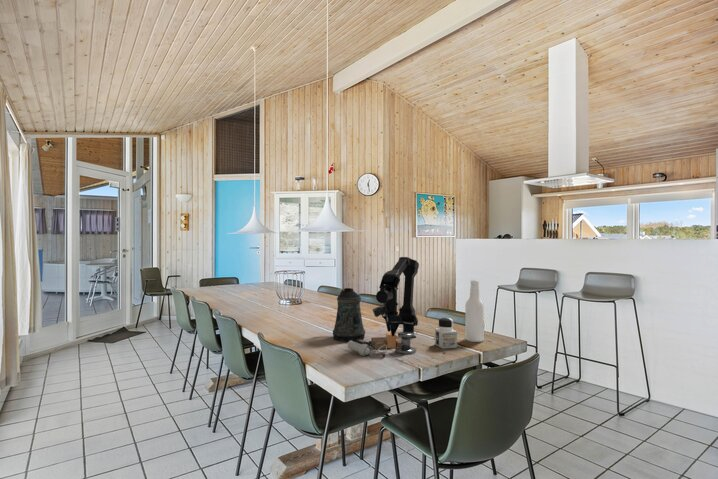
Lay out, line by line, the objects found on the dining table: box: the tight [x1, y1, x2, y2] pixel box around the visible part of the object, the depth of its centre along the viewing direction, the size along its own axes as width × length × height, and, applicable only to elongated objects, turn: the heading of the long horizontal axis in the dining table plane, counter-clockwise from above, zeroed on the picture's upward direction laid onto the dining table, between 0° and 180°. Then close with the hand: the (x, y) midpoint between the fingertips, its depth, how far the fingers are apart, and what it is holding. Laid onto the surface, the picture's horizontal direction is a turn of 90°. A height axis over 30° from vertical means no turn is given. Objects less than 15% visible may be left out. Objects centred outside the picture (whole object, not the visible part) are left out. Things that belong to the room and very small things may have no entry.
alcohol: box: [464, 279, 485, 343], centre depth 199 cm, size 9×9×30 cm
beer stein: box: [332, 287, 366, 343], centre depth 203 cm, size 16×19×25 cm
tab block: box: [385, 332, 397, 349], centre depth 186 cm, size 4×4×6 cm
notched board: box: [370, 336, 401, 350], centre depth 189 cm, size 11×16×2 cm
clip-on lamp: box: [346, 339, 388, 357], centre depth 174 cm, size 12×6×18 cm
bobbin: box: [395, 331, 417, 355], centre depth 178 cm, size 9×9×8 cm
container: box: [434, 317, 458, 349], centre depth 187 cm, size 8×8×13 cm
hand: (390, 333), depth 186 cm, fingers open, 9 cm apart
